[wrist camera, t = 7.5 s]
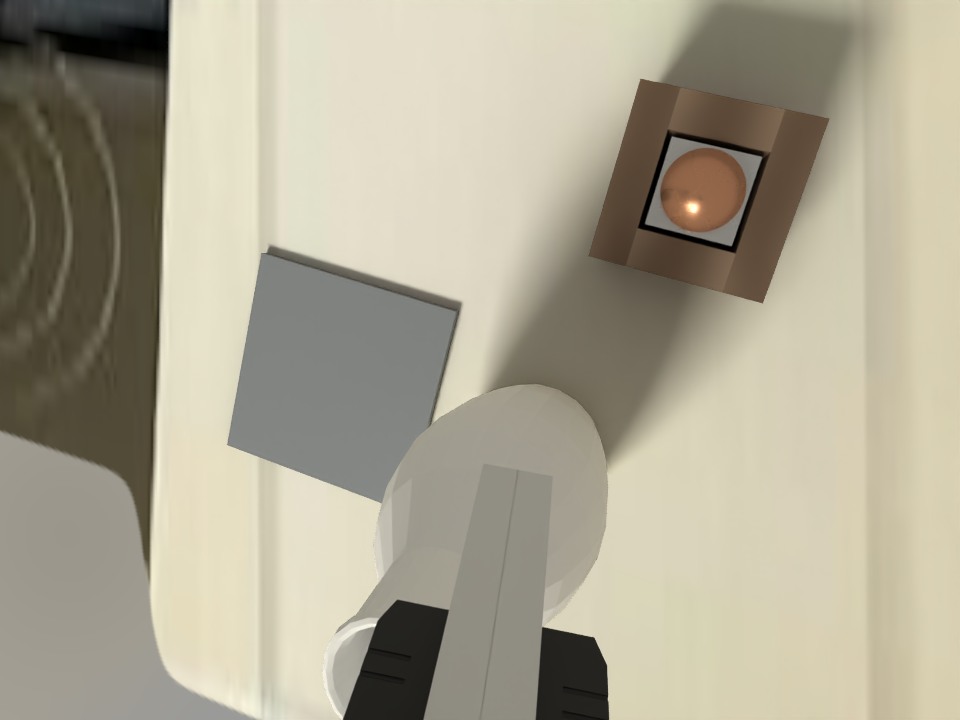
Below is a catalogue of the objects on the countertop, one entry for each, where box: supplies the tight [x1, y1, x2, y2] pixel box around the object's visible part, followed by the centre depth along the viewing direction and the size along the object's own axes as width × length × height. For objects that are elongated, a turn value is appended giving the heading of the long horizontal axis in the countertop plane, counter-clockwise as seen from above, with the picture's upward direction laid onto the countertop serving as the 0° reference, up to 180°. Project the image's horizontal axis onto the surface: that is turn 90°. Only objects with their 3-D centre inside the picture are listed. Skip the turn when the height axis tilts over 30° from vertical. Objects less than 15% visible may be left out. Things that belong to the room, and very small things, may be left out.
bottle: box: [322, 384, 608, 720], centre depth 32 cm, size 11×11×25 cm
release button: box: [645, 137, 762, 247], centre depth 34 cm, size 4×4×6 cm
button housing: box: [589, 79, 829, 303], centre depth 36 cm, size 9×9×7 cm
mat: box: [227, 253, 459, 503], centre depth 47 cm, size 15×15×1 cm
